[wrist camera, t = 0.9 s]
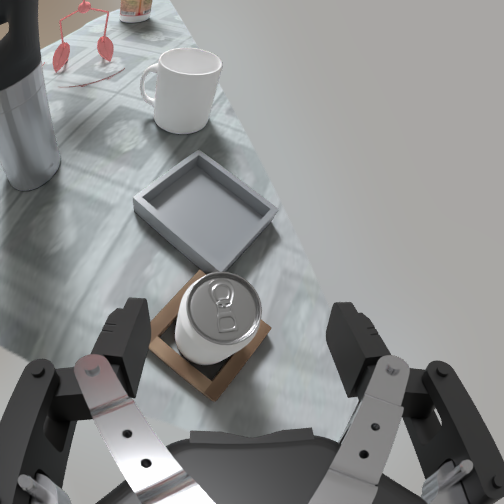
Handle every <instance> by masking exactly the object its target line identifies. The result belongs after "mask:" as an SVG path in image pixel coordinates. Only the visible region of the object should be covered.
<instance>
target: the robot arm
mask: <svg viewBox="0 0 504 504" xmlns="http://www.w3.org/2000/svg"><path fill="white" fill-rule="evenodd" d="M6 22H8V23H9V32H8V33H7V34H6V35H5V36H4V37H3V39H2V40H0V163H1V165H2V167H3V170H4V172H5V174H6V176H7V178H8V180H9V182H10V184H11V185H12V187H14V188H15V189H17V190H20V191H28V190H32V189H36V188H38V187H40V186H42V185H43V184H45V183H46V182H47V181H48V180H49V179H51V178H52V176H53V175H54V174H55V173H56V171H57V169H58V168H59V165H60V160H61V157H60V152H59V148H58V145H57V141H56V136H55V132H54V128H53V123H52V119H51V114H50V109H49V104H48V99H47V93H46V88H45V82H44V76H43V69H42V61H41V52H40V43H39V30H38V0H0V25H1V24H3V23H6ZM150 341H151V324H150V317H149V310H148V304H147V300H146V299H145V298H128V300H127V302H126V304H125V306H124V308H123V309H121V308H117V309H116V310H115V311H113V312H112V313H111V314H110V315H109V316H108V318H107V320H106V323H105V325H104V327H103V329H102V332H101V333H100V335H99V337H98V339H97V341H96V343H95V345H94V348H93V350H92V352H91V354H90V355H87V356H84V357H82V358H81V359H79V360H78V361H77V362H76V364H75V366H74V367H71V368H61V369H55V368H54V365H53V364H52V363H51V362H50V361H49V360H46V359H37V360H34V361H32V362H30V363H29V364H28V365H27V366H26V367H25V369H24V371H23V373H22V375H21V377H20V379H19V381H18V383H17V385H16V387H15V389H14V392H13V394H12V396H11V398H10V400H9V402H8V405H7V407H6V410H5V412H4V414H3V417H2V420H1V422H0V504H71V501H70V498H69V496H68V495H67V494H66V493H65V492H64V491H63V490H62V486H63V480H64V475H65V470H66V465H67V460H68V456H69V452H70V447H71V443H72V439H73V435H74V431H75V427H76V424H77V420H87V419H93V420H94V422H95V424H96V426H97V428H98V430H99V432H100V434H101V436H102V438H103V440H104V442H105V444H106V446H107V447H108V449H109V451H110V453H111V455H112V456H113V458H114V460H115V462H116V463H117V465H118V467H119V468H120V470H121V472H122V473H123V475H124V477H125V478H126V480H125V481H123V482H122V483H121V484H120V485H119V486H117V487H116V488H115V489H114V490H112V491H111V492H110V493H109V494H107V495H106V496H105V497H104V498H102V499H101V500H100V501H98V502H97V503H96V504H493V503H495V502H496V501H498V500H499V499H501V498H502V497H504V461H503V459H502V456H501V454H500V452H499V450H498V448H497V446H496V444H495V442H494V440H493V438H492V436H491V434H490V432H489V430H488V428H487V426H486V425H485V423H484V421H483V419H482V417H481V415H480V414H479V412H478V410H477V408H476V406H475V405H474V403H473V401H472V400H471V398H470V396H469V394H468V392H467V391H466V389H465V387H464V386H463V384H462V382H461V381H460V379H459V378H458V376H457V374H456V373H455V371H454V369H453V368H452V367H451V366H450V365H448V364H447V363H445V362H442V361H433V362H431V363H429V365H428V366H427V368H426V370H422V369H413V368H409V366H408V364H407V363H406V362H405V361H404V360H403V359H401V358H399V357H397V356H393V355H391V354H390V352H389V350H388V349H387V347H386V345H385V343H384V342H383V340H382V338H381V337H380V335H378V332H377V330H376V329H375V327H374V325H373V324H372V322H371V320H370V319H369V318H368V317H366V316H365V315H364V314H363V313H358V312H357V310H356V309H355V307H354V305H353V304H352V303H351V302H336V303H334V304H333V307H332V310H331V314H330V318H329V322H328V326H327V330H326V341H327V345H328V347H329V350H330V352H331V355H332V357H333V360H334V363H335V365H336V368H337V370H338V373H339V375H340V378H341V381H342V383H343V386H344V389H345V391H346V394H347V397H348V398H351V397H358V399H359V402H358V404H357V406H356V408H355V410H354V412H353V414H352V416H351V418H350V420H349V422H348V424H347V426H346V428H345V430H344V432H343V434H342V436H341V438H340V440H339V442H338V443H337V442H336V441H333V440H331V439H328V438H325V437H320V436H314V435H313V431H312V428H303V429H291V430H282V431H278V432H275V433H271V434H267V435H264V436H260V437H256V438H249V437H243V436H238V435H233V434H229V433H224V432H211V431H190V439H185V440H180V441H177V442H174V443H172V444H170V445H168V446H166V447H165V446H164V444H163V443H162V442H161V440H160V439H159V437H158V436H157V435H156V433H155V432H154V430H153V429H152V428H151V426H150V425H149V423H148V422H147V420H146V419H145V417H144V416H143V414H142V413H141V411H140V409H139V408H138V406H137V405H136V403H135V402H134V400H133V399H132V398H136V394H137V390H138V386H139V382H140V378H141V374H142V370H143V366H144V363H145V359H146V355H147V352H148V348H149V344H150ZM435 408H436V409H437V411H438V413H439V415H440V418H441V421H442V426H441V424H440V422H439V420H438V418H437V416H436V414H435V412H434V409H435ZM401 417H403V420H404V422H405V425H406V428H407V430H408V433H409V435H410V438H411V440H412V443H413V446H414V449H415V451H416V454H417V457H418V459H419V462H420V465H421V468H422V471H423V473H424V476H425V479H426V481H425V482H424V484H423V487H422V495H421V497H419V496H418V495H416V494H414V493H413V492H411V491H410V490H408V489H406V488H405V487H403V486H401V485H400V484H398V483H397V482H395V481H393V480H392V479H390V478H389V477H387V476H385V475H384V474H383V473H382V472H383V469H384V467H385V465H386V462H387V459H388V457H389V454H390V451H391V448H392V445H393V442H394V439H395V436H396V433H397V430H398V427H399V424H400V421H401Z"/></svg>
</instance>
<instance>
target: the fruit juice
mask: <svg viewBox="0 0 504 504" xmlns="http://www.w3.org/2000/svg"><path fill="white" fill-rule="evenodd" d="M151 5H152V0H121V8H120V20H121V21H122V22H127V23H135V22H142V21H145V20H147V19H148V18H149V17H150V11H151Z"/></svg>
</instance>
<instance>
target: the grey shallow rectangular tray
mask: <svg viewBox="0 0 504 504" xmlns="http://www.w3.org/2000/svg"><path fill="white" fill-rule="evenodd" d="M133 205H134V211H135V212H136V213H137V214H138V215H139V216H140V217H141V218H142V219H143V220H145V221H146V222H147V223H148V224H149V225H150V226H151V227H152V228H154V229H155V230H156V231H157V232H158V233H159V234H160V235H161V236H163V237H164V238H165V239H166V240H167V241H168V242H170V243H171V244H172V245H173V246H174V247H175V248H176V249H178V250H179V251H180V252H181V253H182V254H183V255H185V256H186V257H187V258H188V259H189V260H190V261H192V262H193V263H194V264H195V265H196V266H198V267H199V268H200V269H201V270H202V271H203V272H205V273H206V274H210V273H214V272H226V271H227V270H228V269H229V268H230V267H231V266H232V264H233V263H234V262H235V261H236V260H237V259H238V258H239V257H240V256H241V254H242V253H243V252H244V251H245V250H246V249H247V248H248V247H249V246H250V244H251V243H252V242H253V241H254V240H255V239H256V238H257V237H258V236H259V235H260V233H261V232H262V231H263V230H264V229H265V228H266V227H267V226H268V225H269V224H270V222H271V221H272V220H273V218H274V216H275V215H276V213H277V212H278V210H279V209H278V208H277V207H275V206H274V205H273V204H271V203H270V202H269V201H267V200H266V199H265V198H264V197H262V196H261V195H260V194H258V193H257V192H256V191H254V190H253V189H252V188H250V187H249V186H248V185H247V184H245V183H244V182H243V181H241V180H240V179H239V178H237V177H236V176H234V175H233V174H232V173H230V172H229V171H228V170H226V169H225V168H224V167H222V166H221V165H220V164H218V163H217V162H215V161H214V160H213V159H211V158H210V157H209V156H207V155H206V154H204V153H203V152H202V151H200V150H199V149H198V150H197V151H195V152H194V153H192V154H191V155H190V156H188V157H187V158H185V159H184V160H182V161H181V162H179V163H178V164H177V165H175V166H174V167H172V168H171V169H170V170H168V171H167V172H166V173H164V174H163V175H161V176H160V177H159V178H157V179H156V180H155V181H153V182H152V183H151V184H149V185H148V186H147V187H145V188H144V189H143V190H141V191H140V192H139V193H138V194H136V195H135V196H134V197H133Z"/></svg>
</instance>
